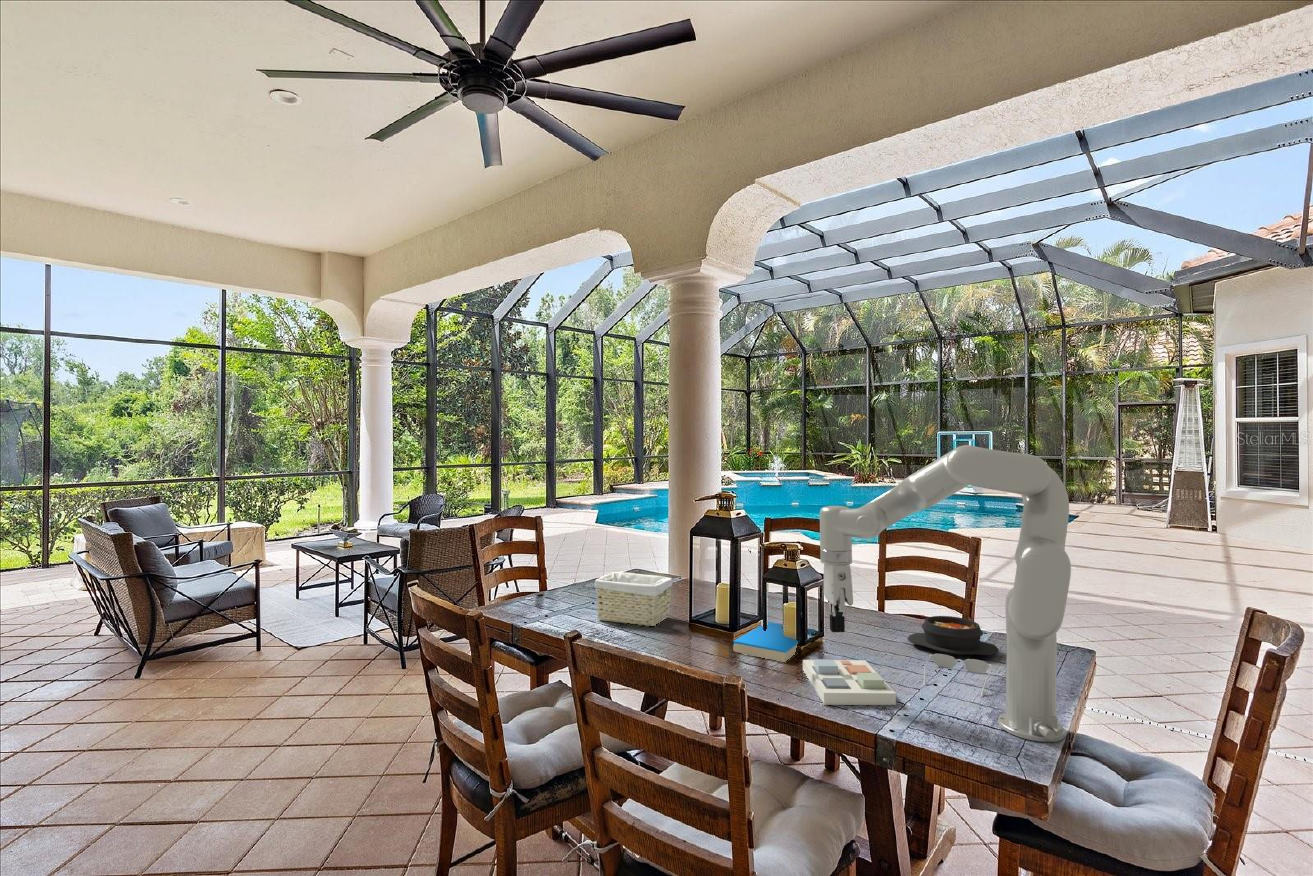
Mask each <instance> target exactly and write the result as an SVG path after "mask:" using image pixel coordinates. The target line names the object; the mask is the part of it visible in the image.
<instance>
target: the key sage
mask: <svg viewBox="0 0 1313 876" xmlns="http://www.w3.org/2000/svg"><path fill="white" fill-rule="evenodd" d="M884 681H885V680H884V678H883V677H882V676H881V675H880V674H879V673H878V672H877V673H857V683H858V684H859V686H860V687H861V688H862V689H884Z"/></svg>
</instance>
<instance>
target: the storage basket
mask: <svg viewBox="0 0 1313 876" xmlns="http://www.w3.org/2000/svg"><path fill="white" fill-rule="evenodd" d="M672 586H673V578H672V577H666V576H661V575H653V574H641V573H633V572H623V571H622V572H620V571H618V572H617V571H613V572H610V573H607V574H606V575H603V576H601V577H599V578H596V579H595V581H594V588H595V595H596V606H597V607H596V608H597V619H598V620H599V621H604V622H613V623H617V624H619V623H621V624H622V623H623V624H627V623H630V624H638V625H637V626H642V625H645V626H644V627H649V626H655V625H656V624H657V623H659V622H660V621H661V620H662V619H663V618H665V617H666V616H667V615H669V614H670V606H671V604H670V602H671V590H672V588H671V587H672ZM630 624H629V625H630ZM659 624H660V623H659ZM646 625H647V626H646ZM655 627H656V626H655Z"/></svg>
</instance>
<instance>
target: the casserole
mask: <svg viewBox="0 0 1313 876" xmlns="http://www.w3.org/2000/svg"><path fill="white" fill-rule="evenodd" d="M921 628H922V630H923V632H915V633H912V634H910V635H909V636H908V637H907V640H908V641H909V642H910V643H911V644H914V645H917V646H920V647H925V648H928V649H931V650H933V651H935V652H938V653H940V654H943V655H948V656H970V655H979V656H992V655H995V654H997V653H998V652H999V651H1000V650H999V648H998V647H997V646H996V645H995V644H993V643H990V642H987V641H982V640H981V637H982V636H983V635H984V631H983V630H982V629H981V626H980V625H979V623H978V622H975V620H971V619H968V618H967V619H966V618H963V617H959V616H950V615H934V616H933V615H932V616H927V617H926V618H925V619H924V622H923V623H922V624H921Z"/></svg>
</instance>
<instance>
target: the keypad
mask: <svg viewBox="0 0 1313 876" xmlns="http://www.w3.org/2000/svg"><path fill="white" fill-rule="evenodd" d="M833 660H834V661H835V663H836V664H837V665H838V675H818V674H817V673H816V671H815V670H814V659H802V672H803V671H804V672H803V674H804V673H805V674H806V675H805V674H804V675H805V677H806V676H807V677H806V678H808V679H809V680H808V679H807V680H808V682H809V681H810V682H811V683H810V682H809V683H810V685H811V684H812V685H811V687H812V686H813V687H814V688H813V687H812V688H813V690H814V689H815V690H814V691H816V692H817V693H816V692H815V693H816V695H817V694H818V695H817V696H819V697H820V698H819V697H818V698H819V700H820V699H821V700H822V701H821V700H820V701H821V703H822V702H823V703H822V705H823V704H824V705H823V706H827V705H896V706H897V704H896V703H897V693H896V691H894V689H893V688H891V687H890V686H889V684H888V683H887V682H886V681H885V680H884V689H862V688H861V687H860V686H859V684H858V683H857V675H850V674H849V672H848V671H847V670H846V665H866V667H867V668H868V669H869V670H870V671H871V673H878V672H877V671H876V669H874V668H873V667H872V666H871V665H870V664H869V663H868V661H866V660H865V659H861V660H860V659H858V660H856V659H853V660H852V659H848V660H847V659H833ZM823 678H843V679H844V680H845V681H846V683H847V684H848V685H849V689H826V687H825V686H824V684H823Z"/></svg>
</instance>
